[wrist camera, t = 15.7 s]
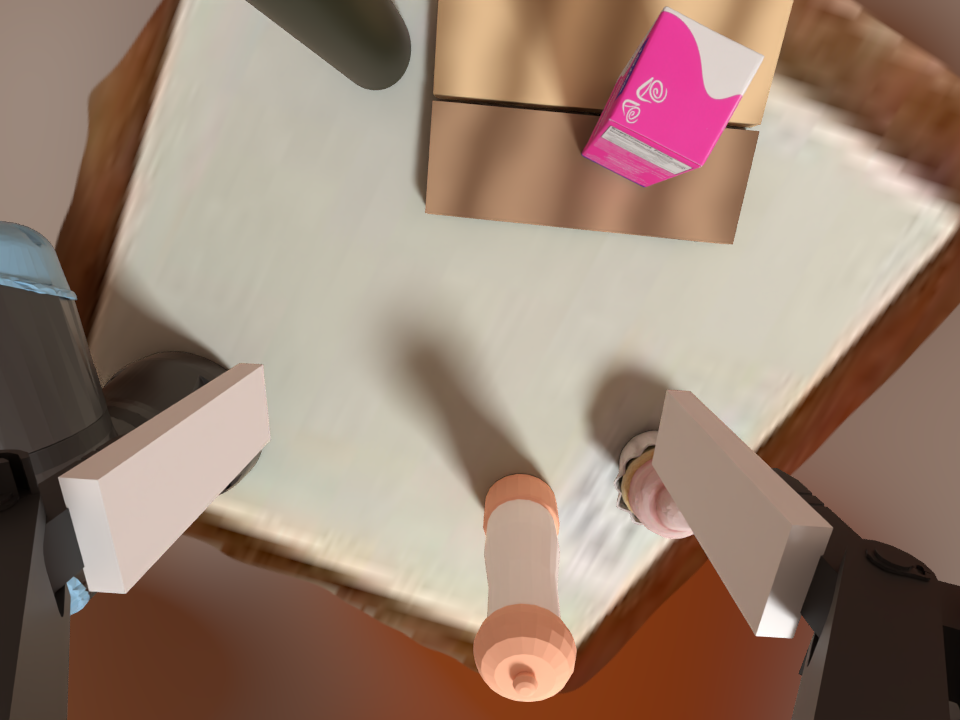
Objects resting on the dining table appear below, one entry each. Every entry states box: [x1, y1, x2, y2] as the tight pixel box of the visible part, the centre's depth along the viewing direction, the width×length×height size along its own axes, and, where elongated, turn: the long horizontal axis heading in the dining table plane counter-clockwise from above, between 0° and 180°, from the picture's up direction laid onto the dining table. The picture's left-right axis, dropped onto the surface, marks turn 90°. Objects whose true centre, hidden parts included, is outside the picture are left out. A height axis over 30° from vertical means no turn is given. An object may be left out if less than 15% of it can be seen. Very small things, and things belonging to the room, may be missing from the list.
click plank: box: [425, 101, 759, 244], centre depth 36 cm, size 24×8×2 cm, turn 85°
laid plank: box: [433, 0, 793, 128], centre depth 33 cm, size 24×8×2 cm, turn 85°
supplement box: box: [581, 6, 764, 187], centre depth 29 cm, size 6×6×12 cm
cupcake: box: [613, 431, 694, 539], centre depth 40 cm, size 9×9×10 cm
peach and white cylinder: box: [473, 474, 577, 702], centre depth 38 cm, size 7×7×19 cm
